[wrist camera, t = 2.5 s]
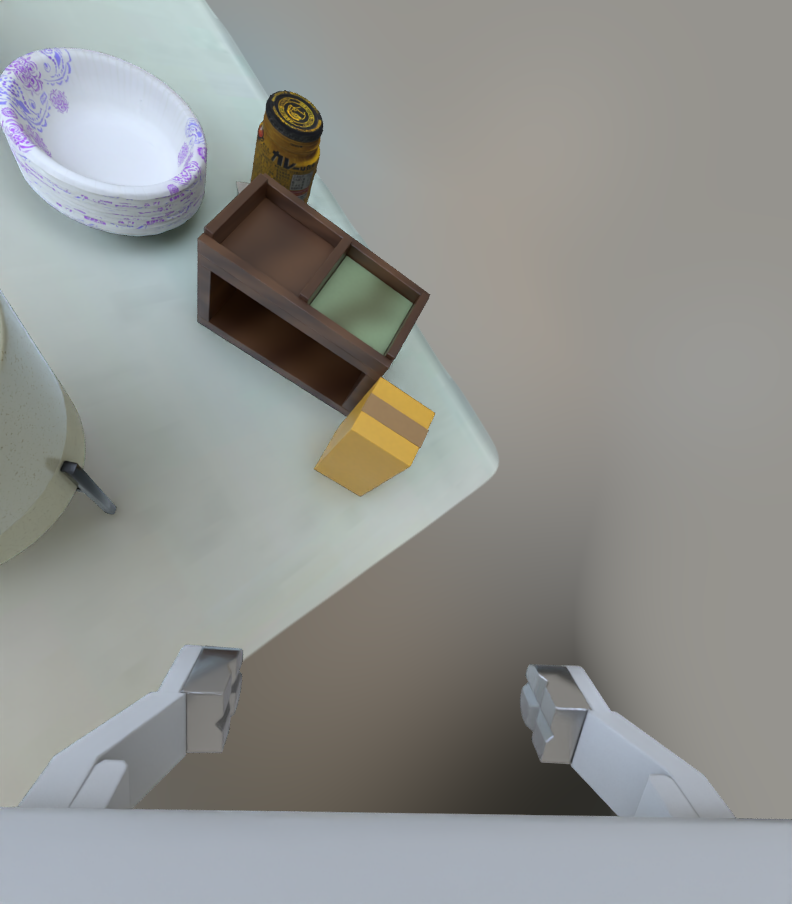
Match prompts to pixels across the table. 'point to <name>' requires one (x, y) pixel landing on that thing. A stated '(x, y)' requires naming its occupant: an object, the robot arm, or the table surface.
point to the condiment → (288, 143)
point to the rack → (302, 294)
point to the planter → (35, 442)
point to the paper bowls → (103, 140)
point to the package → (376, 439)
